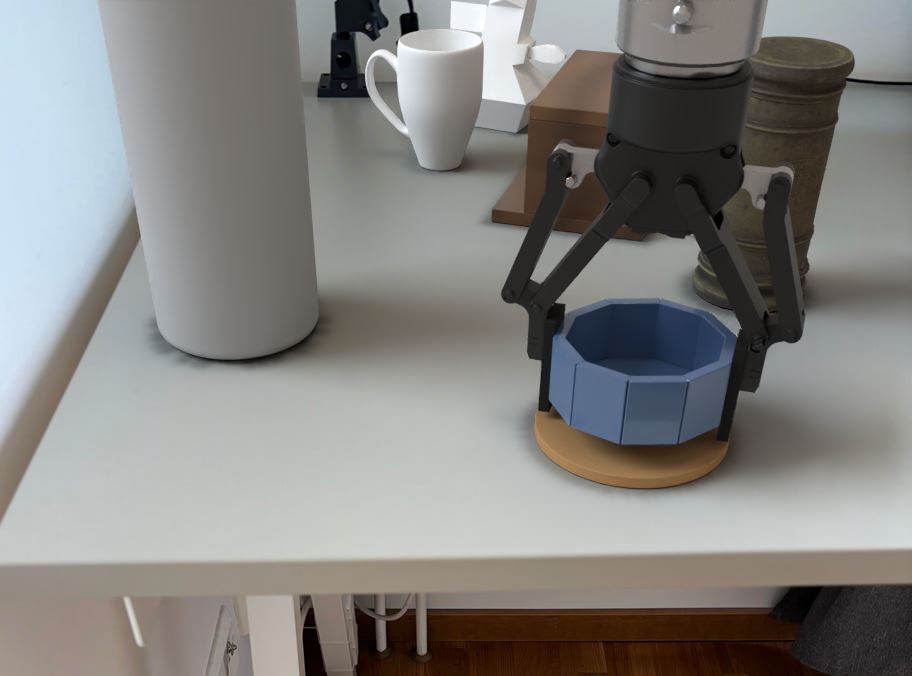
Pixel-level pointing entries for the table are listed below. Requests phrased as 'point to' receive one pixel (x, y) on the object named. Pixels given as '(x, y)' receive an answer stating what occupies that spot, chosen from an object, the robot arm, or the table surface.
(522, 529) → the table surface
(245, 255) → the cylinder vase
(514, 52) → the white faceted sculpture
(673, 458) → the coaster
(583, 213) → the stand
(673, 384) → the bowl
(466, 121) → the mug
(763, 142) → the container
